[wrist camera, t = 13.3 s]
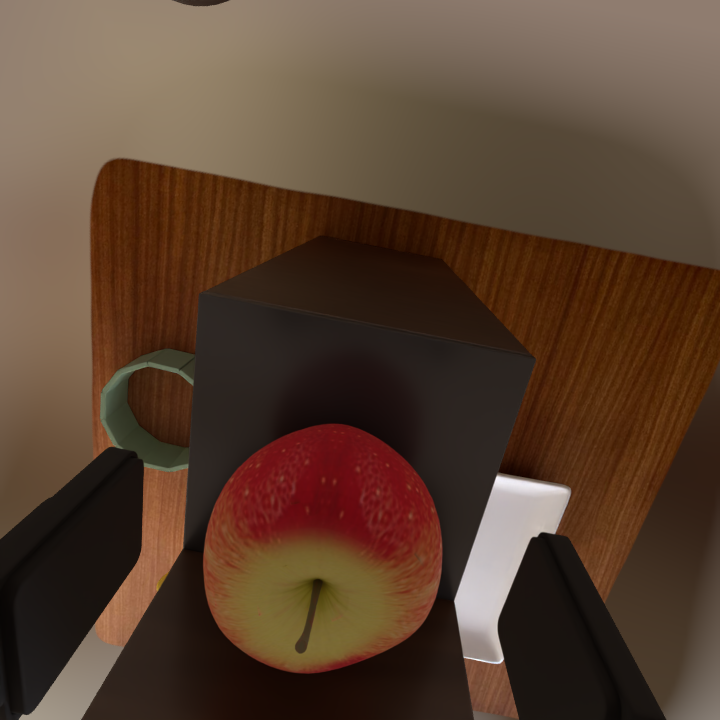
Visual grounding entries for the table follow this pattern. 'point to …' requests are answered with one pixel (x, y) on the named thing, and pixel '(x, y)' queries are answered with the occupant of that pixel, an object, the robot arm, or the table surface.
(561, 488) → the tray
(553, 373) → the table surface
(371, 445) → the apple
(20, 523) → the robot arm
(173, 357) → the faceted green band
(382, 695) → the stand
